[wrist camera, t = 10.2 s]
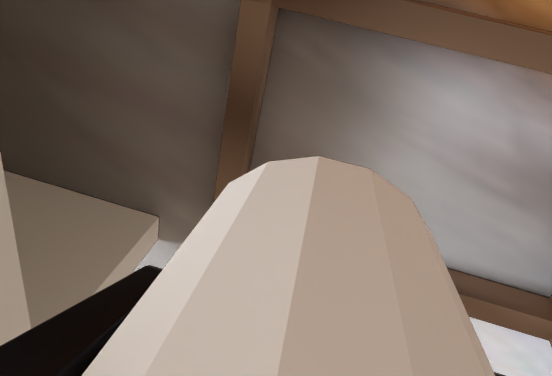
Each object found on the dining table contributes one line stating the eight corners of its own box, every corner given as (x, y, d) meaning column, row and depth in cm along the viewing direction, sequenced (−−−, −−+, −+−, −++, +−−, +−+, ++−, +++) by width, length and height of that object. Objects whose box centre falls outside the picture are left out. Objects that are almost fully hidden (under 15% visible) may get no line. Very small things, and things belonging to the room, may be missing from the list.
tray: (560, 320, 18) (589, 379, 16) (219, 219, 20) (195, 258, 17) (755, 80, 13) (851, 111, 10) (258, -37, 14) (230, -37, 11)
